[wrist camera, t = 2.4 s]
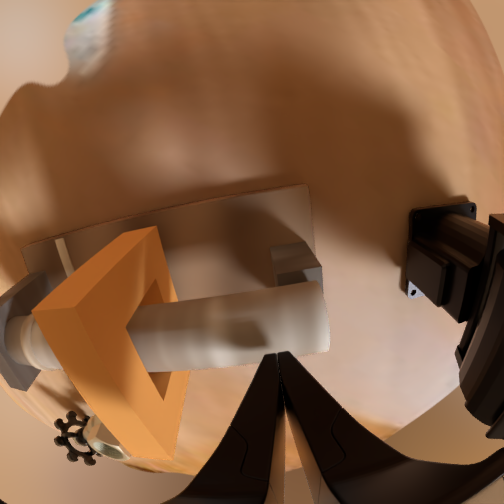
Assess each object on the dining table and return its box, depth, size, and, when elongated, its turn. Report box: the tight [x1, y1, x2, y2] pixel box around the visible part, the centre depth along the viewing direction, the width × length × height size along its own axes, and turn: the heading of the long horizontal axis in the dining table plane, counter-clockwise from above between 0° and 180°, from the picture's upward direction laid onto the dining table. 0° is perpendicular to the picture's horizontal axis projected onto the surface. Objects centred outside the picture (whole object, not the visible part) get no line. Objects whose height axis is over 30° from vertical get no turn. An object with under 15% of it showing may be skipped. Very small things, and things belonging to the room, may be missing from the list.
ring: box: [31, 226, 190, 460], centre depth 11 cm, size 2×8×8 cm, turn 9°
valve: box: [54, 411, 131, 466], centre depth 19 cm, size 7×7×12 cm
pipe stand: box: [0, 184, 330, 392], centre depth 13 cm, size 20×9×8 cm, turn 99°
